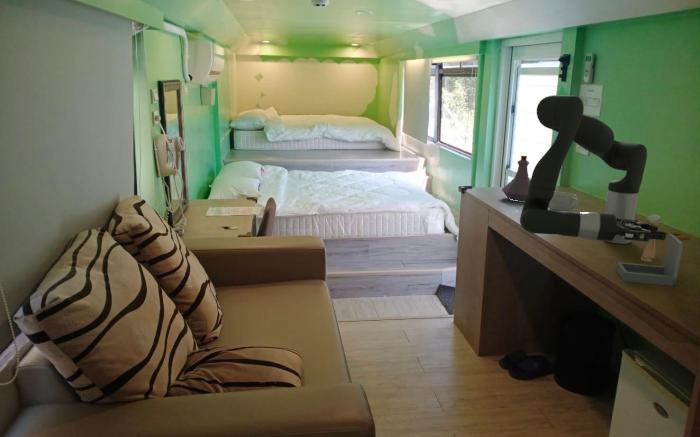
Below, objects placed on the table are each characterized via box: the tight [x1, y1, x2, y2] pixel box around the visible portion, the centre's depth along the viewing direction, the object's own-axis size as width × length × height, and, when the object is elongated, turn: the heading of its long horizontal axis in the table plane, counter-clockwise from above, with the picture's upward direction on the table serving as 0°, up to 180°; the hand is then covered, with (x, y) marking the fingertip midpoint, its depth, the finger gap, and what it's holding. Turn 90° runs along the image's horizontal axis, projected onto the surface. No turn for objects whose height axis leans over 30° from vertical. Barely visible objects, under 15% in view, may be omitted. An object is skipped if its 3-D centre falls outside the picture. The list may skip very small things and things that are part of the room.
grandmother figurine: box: [640, 213, 662, 263], centre depth 144 cm, size 8×4×13 cm, turn 157°
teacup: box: [548, 190, 580, 212], centre depth 216 cm, size 14×11×8 cm
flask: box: [501, 155, 531, 201], centre depth 236 cm, size 16×16×20 cm
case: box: [615, 233, 684, 287], centre depth 146 cm, size 9×13×12 cm
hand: (661, 232), depth 143 cm, fingers closed on grandmother figurine, 6 cm apart
